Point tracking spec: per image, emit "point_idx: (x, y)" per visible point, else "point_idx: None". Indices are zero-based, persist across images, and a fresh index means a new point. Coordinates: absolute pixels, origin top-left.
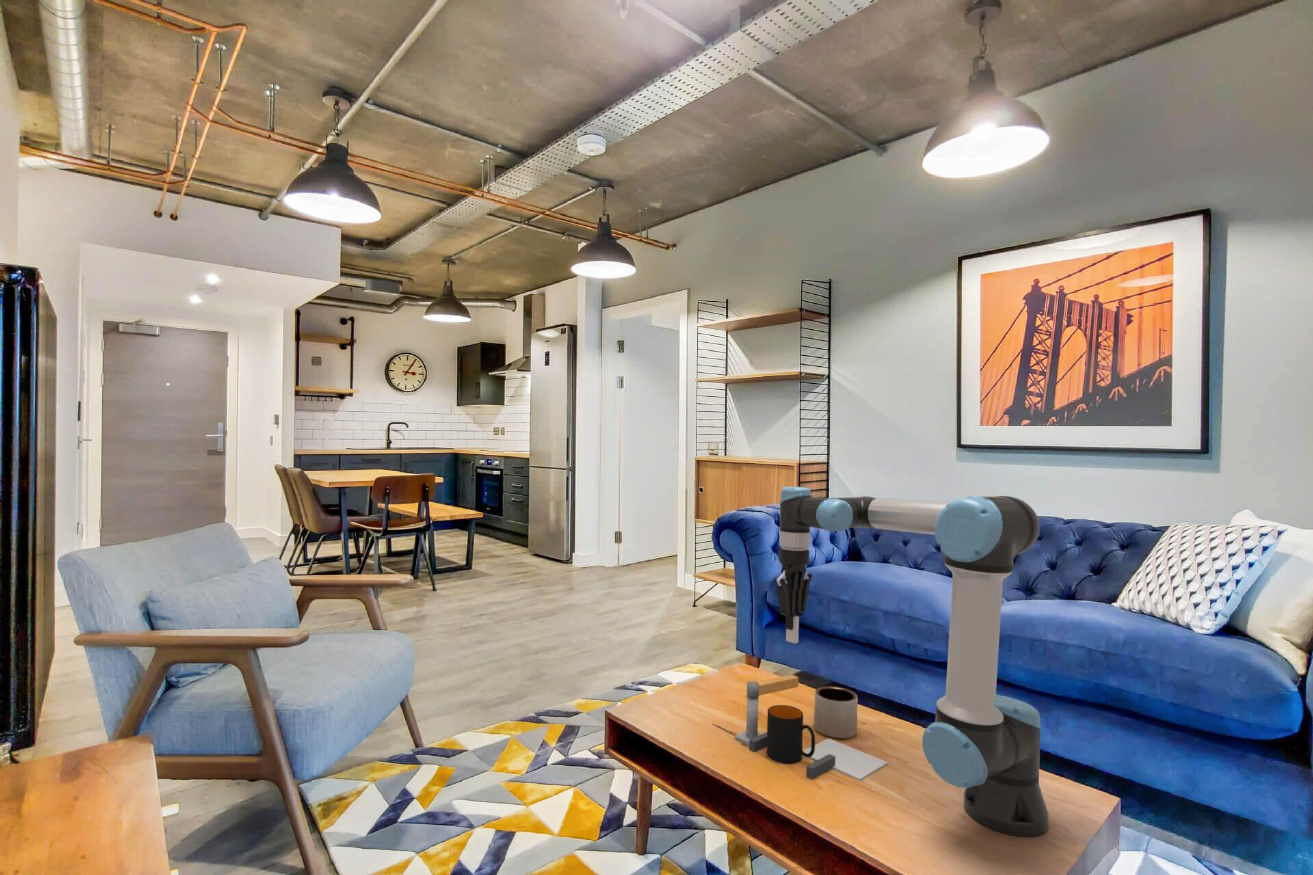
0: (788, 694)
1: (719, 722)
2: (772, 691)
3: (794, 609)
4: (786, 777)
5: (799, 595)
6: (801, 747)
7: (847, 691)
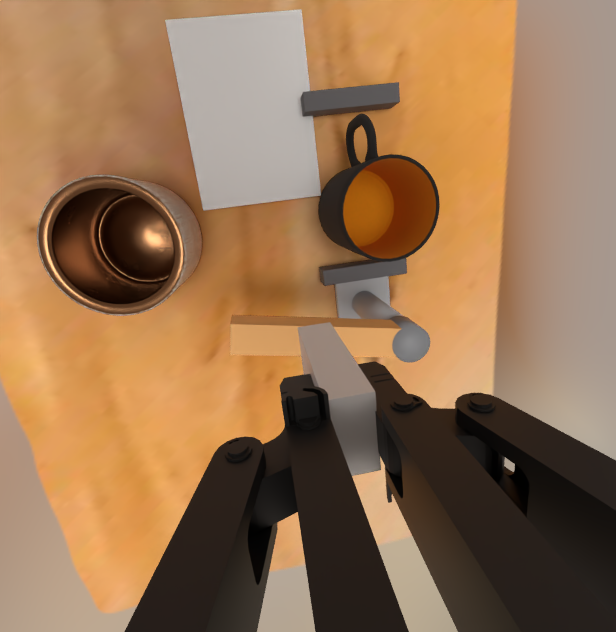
0: (104, 447)
1: None
2: (340, 319)
3: (411, 435)
4: (426, 132)
5: (369, 596)
6: (356, 162)
7: (52, 247)
